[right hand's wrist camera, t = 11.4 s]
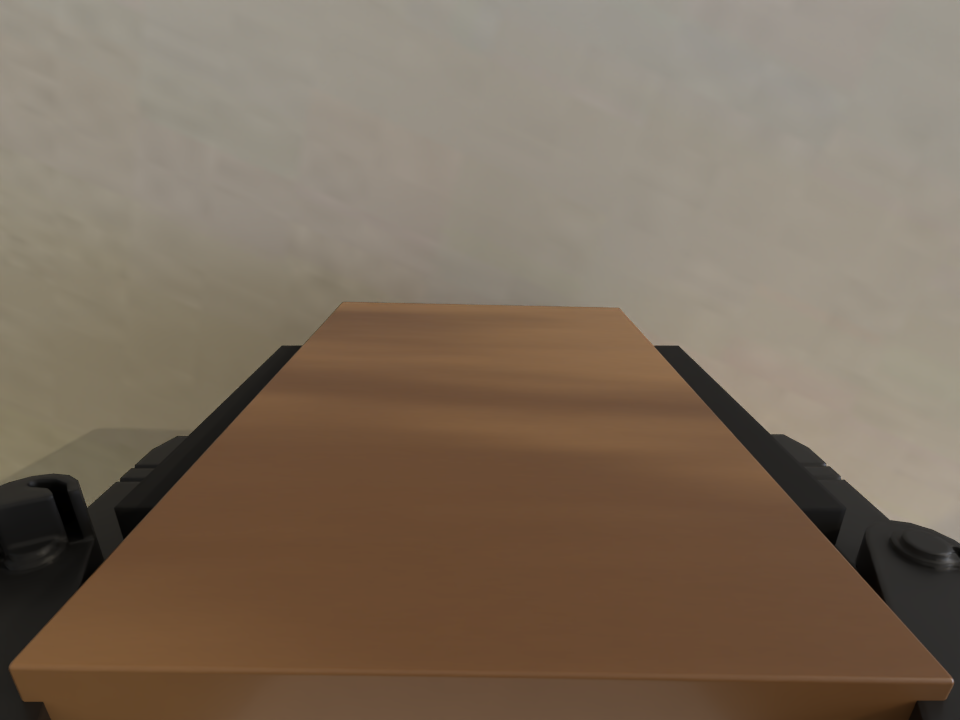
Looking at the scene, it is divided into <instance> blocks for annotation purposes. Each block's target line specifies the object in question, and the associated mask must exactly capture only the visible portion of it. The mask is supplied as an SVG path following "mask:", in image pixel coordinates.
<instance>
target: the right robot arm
mask: <svg viewBox="0 0 960 720" xmlns="http://www.w3.org/2000/svg"><path fill="white" fill-rule="evenodd" d="M301 347H302V346H281V347H280V348H279V349H278V350H277V351H276V352H275V353H274V354H273V355H272V356H271V357H270V358H269V359H268V360H267V361H266V362H265V363H264V364H263V365H261V366H260V367H259V368H258V369H257V370H256V371H255V372H254V373H253V374H252V375H251V376H250V377H249V378H248V379H247V380H246V381H245V382H244V383H243V384H242V385H241V386H240V387H239V388H238V389H237V390H236V391H235V392H233V393H232V394H231V395H230V396H229V397H228V398H227V399H226V400H225V401H224V402H223V403H222V404H221V405H220V406H219V407H218V408H217V409H216V410H215V411H214V412H213V413H212V414H211V415H210V416H209V417H208V418H206V419H205V420H204V421H203V422H202V423H201V424H200V425H199V426H198V427H197V428H196V429H195V430H194V431H193V432H192V433H191V434H190V435H189V436H177V437H175V438H173V439H171V440H169V441H167V442H166V443H164V444H162V445H160V446H158V447H156V448H154V449H152V450H151V451H150V452H149V453H148V454H147V455H146V456H145V457H143V458H142V459H141V460H140V461H139V462H138V463H137V464H136V465H135V468H131V469H130V470H129V471H128V472H127V473H126V474H125V475H123V476H122V477H121V478H120V482H116V483H115V484H113V485H112V486H111V487H110V488H109V489H108V490H107V491H106V492H105V493H103V494H102V495H101V496H100V497H99V498H98V499H97V500H96V501H95V502H93V503H92V504H91V505H90V506H89V507H88V508H87V506H86V503H85V500H84V497H83V494H82V491H81V488H80V485H79V482H78V480H76V479H75V478H73V477H71V476H70V475H62V474H46V475H38V476H31V477H27V478H24V479H20V480H16V481H12V482H9V483H6V484H4V485H1V486H0V720H51V718H50V716H49V714H48V712H47V709H46V707H45V705H44V702H24V701H22V700H21V698H20V695H19V693H18V691H17V688H16V686H15V684H14V681H13V679H12V677H11V674H10V672H9V670H8V669H9V665H10V663H11V662H12V661H13V660H14V658H15V657H16V656H17V655H18V654H19V653H20V652H21V651H22V650H23V649H24V648H25V647H26V645H27V644H28V643H29V642H30V641H31V640H32V639H33V638H34V637H35V636H36V635H37V634H38V632H39V631H40V630H41V629H42V628H43V627H44V626H45V625H46V624H47V623H48V622H49V620H50V619H51V618H52V617H53V616H54V615H55V614H56V613H57V612H58V611H59V610H60V609H61V607H62V606H63V605H64V604H65V603H66V602H67V601H68V600H69V599H70V598H71V597H72V596H73V594H74V593H75V592H76V591H77V590H78V589H79V588H80V587H81V586H82V585H83V584H84V582H85V581H86V580H87V579H88V578H89V577H90V576H91V575H92V574H93V573H94V572H95V571H96V569H97V568H98V567H99V566H100V565H101V564H102V563H103V562H104V561H105V560H106V559H107V557H108V556H109V555H110V554H111V553H112V552H113V551H114V550H115V549H116V548H117V547H118V546H119V544H120V543H121V542H122V541H123V540H124V539H125V538H126V537H127V536H128V535H129V534H130V533H131V531H132V530H133V529H134V528H135V527H136V526H137V525H138V524H139V523H140V522H141V521H142V519H143V518H144V517H145V516H146V515H147V514H148V513H149V512H150V511H151V510H152V509H153V508H154V506H155V505H156V504H157V503H158V502H159V501H160V500H161V499H162V498H163V497H164V496H165V495H166V493H167V492H168V491H169V490H170V489H171V488H172V487H173V486H174V485H175V484H176V483H177V481H178V480H179V479H180V478H181V477H182V476H183V475H184V474H185V473H186V472H187V471H188V470H189V468H190V467H191V466H192V465H193V464H194V463H195V462H196V461H197V460H198V459H199V458H200V456H201V455H202V454H203V453H204V452H205V451H206V450H207V449H208V448H209V447H210V446H211V445H212V443H213V442H214V441H215V440H216V439H217V438H218V437H219V436H220V435H221V434H222V433H223V432H224V430H225V429H226V428H227V427H228V426H229V425H230V424H231V423H232V422H233V421H234V420H235V418H236V417H237V416H238V415H239V414H240V413H241V412H242V411H243V410H244V409H245V408H246V407H247V405H248V404H249V403H250V402H251V401H252V400H253V399H254V398H255V397H256V396H257V395H258V394H259V392H260V391H261V390H262V389H263V388H264V387H265V386H266V385H267V384H268V383H269V382H270V380H271V379H272V378H273V377H274V376H275V375H276V374H277V373H278V372H279V371H280V370H281V369H282V367H283V366H284V365H285V364H286V363H287V362H288V361H289V360H290V359H291V358H292V357H293V356H294V354H295V353H296V352H297V351H298V350H299V349H300V348H301ZM654 347H655V348H656V349H657V350H658V352H659V353H660V354H661V355H662V356H663V357H664V358H665V359H666V360H667V361H668V363H669V364H670V365H671V366H672V367H673V368H674V369H675V370H676V371H677V373H678V374H679V375H680V376H681V377H682V378H683V379H684V380H685V381H686V383H687V384H688V385H689V386H690V387H691V388H692V389H693V390H694V391H695V393H696V394H697V395H698V396H699V397H700V398H701V399H702V400H703V401H704V403H705V404H706V405H707V406H708V407H709V408H710V409H711V410H712V411H713V413H714V414H715V415H716V416H717V417H718V418H719V419H720V420H721V421H722V422H723V424H724V425H725V426H726V427H727V428H728V429H729V430H730V431H731V432H732V434H733V435H734V436H735V437H736V438H737V439H738V440H739V441H740V442H741V444H742V445H743V446H744V447H745V448H746V449H747V450H748V451H749V452H750V454H751V455H752V456H753V457H754V458H755V459H756V460H757V461H758V462H759V464H760V465H761V466H762V467H763V468H764V469H765V470H766V471H767V472H768V474H769V475H770V476H771V477H772V478H773V479H774V480H775V481H776V482H777V483H778V485H779V486H780V487H781V488H782V489H783V490H784V491H785V492H786V493H787V495H788V496H789V497H790V498H791V499H792V500H793V501H794V502H795V503H796V505H797V506H798V507H799V508H800V509H801V510H802V511H803V512H804V513H805V515H806V516H807V517H808V518H809V519H810V520H811V521H812V522H813V523H814V525H815V526H816V527H817V528H818V529H819V530H820V531H821V532H822V533H823V535H824V536H825V537H826V538H827V539H828V540H829V541H830V542H831V543H832V544H833V546H834V547H835V548H836V549H837V550H838V551H839V552H840V553H841V554H842V556H843V557H844V558H845V559H846V560H847V561H848V562H849V563H850V564H851V566H852V567H853V568H854V569H855V570H856V571H857V572H858V573H859V574H860V576H861V577H862V578H863V579H864V580H865V581H866V582H867V583H868V584H869V586H870V587H871V588H872V589H873V590H874V591H875V592H876V593H877V594H878V595H879V597H880V598H881V599H882V600H883V601H884V602H885V603H886V604H887V605H888V607H889V608H890V609H891V610H892V611H893V612H894V613H895V614H896V615H897V617H898V618H899V619H900V620H901V621H902V622H903V623H904V624H905V625H906V627H907V628H908V629H909V630H910V631H911V632H912V633H913V634H914V635H915V637H916V638H917V639H918V640H919V641H920V642H921V643H922V644H923V645H924V647H925V648H926V649H927V650H928V651H929V652H930V653H931V654H932V655H933V656H934V658H935V659H936V660H937V661H938V662H939V663H940V664H941V665H942V666H943V668H944V669H945V670H946V671H947V672H948V673H949V674H950V675H951V676H952V678H953V680H954V685H953V687H952V689H951V691H950V693H949V695H948V697H947V699H946V700H944V701H917V702H916V704H915V706H914V709H913V711H912V713H911V715H910V718H909V720H960V544H959V543H958V542H956V541H955V540H953V539H951V538H949V537H947V536H945V535H942V534H940V533H938V532H936V531H934V530H932V529H928V528H925V527H922V526H919V525H915V524H912V523H907V522H900V521H892V520H889V519H888V518H887V517H886V516H885V515H883V514H882V513H881V512H880V511H879V510H878V509H877V508H876V507H874V506H873V505H872V504H871V503H870V502H869V501H868V500H867V499H866V498H864V497H863V496H862V495H861V494H860V493H859V492H858V491H857V490H855V489H854V488H853V487H852V486H851V485H850V484H849V483H848V482H846V481H845V480H841V476H840V475H839V474H837V473H836V472H835V471H834V470H833V469H832V468H831V467H830V466H826V463H825V462H824V461H823V460H822V459H821V458H820V457H818V456H817V455H816V454H815V453H814V452H813V451H812V450H811V449H809V448H808V447H806V446H804V445H802V444H801V443H799V442H797V441H795V440H793V439H791V438H789V437H787V436H785V435H784V434H769V433H768V432H767V431H766V430H765V429H764V428H763V427H762V426H761V425H760V424H759V423H758V422H757V421H756V420H755V419H754V418H753V417H752V416H751V415H750V414H749V413H748V412H747V411H746V410H745V409H744V408H742V407H741V406H740V405H739V404H738V403H737V402H736V401H735V400H734V399H733V398H732V397H731V396H730V395H729V394H728V393H727V392H726V391H725V390H724V389H723V388H722V387H721V386H720V385H719V384H718V383H717V382H715V381H714V380H713V379H712V378H711V377H710V376H709V375H708V374H707V373H706V372H705V371H704V370H703V369H702V368H701V367H700V366H699V365H698V364H697V363H696V362H695V361H694V360H693V359H692V358H691V357H690V356H688V355H687V354H686V353H685V352H684V351H683V350H682V349H681V348H680V347H679V346H654Z"/></svg>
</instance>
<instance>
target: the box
mask: <svg viewBox="0 0 960 720" xmlns="http://www.w3.org/2000/svg"><path fill="white" fill-rule="evenodd" d="M8 670H9V672H10V674H11V677H12V679H13V681H14V684H15V686H16V688H17V691H18V693H19V695H20V698H21V700H22V701H24V702H44V705H45V707H46V709H47V712H48V714H49V716H50V718H51V720H909V718H910V715H911V713H912V711H913V709H914V706H915V704H916V702H917V701H944V700H946V699H947V697H948V695H949V693H950V691H951V689H952V687H953V685H954V680H953V678H952V676H951V675H950V674H949V673H948V672H947V671H946V670H945V669H944V668H943V666H942V665H941V664H940V663H939V662H938V661H937V660H936V659H935V658H934V656H933V655H932V654H931V653H930V652H929V651H928V650H927V649H926V648H925V647H924V645H923V644H922V643H921V642H920V641H919V640H918V639H917V638H916V637H915V635H914V634H913V633H912V632H911V631H910V630H909V629H908V628H907V627H906V625H905V624H904V623H903V622H902V621H901V620H900V619H899V618H898V617H897V615H896V614H895V613H894V612H893V611H892V610H891V609H890V608H889V607H888V605H887V604H886V603H885V602H884V601H883V600H882V599H881V598H880V597H879V595H878V594H877V593H876V592H875V591H874V590H873V589H872V588H871V587H870V586H869V584H868V583H867V582H866V581H865V580H864V579H863V578H862V577H861V576H860V574H859V573H858V572H857V571H856V570H855V569H854V568H853V567H852V566H851V564H850V563H849V562H848V561H847V560H846V559H845V558H844V557H843V556H842V554H841V553H840V552H839V551H838V550H837V549H836V548H835V547H834V546H833V544H832V543H831V542H830V541H829V540H828V539H827V538H826V537H825V536H824V535H823V533H822V532H821V531H820V530H819V529H818V528H817V527H816V526H815V525H814V523H813V522H812V521H811V520H810V519H809V518H808V517H807V516H806V515H805V513H804V512H803V511H802V510H801V509H800V508H799V507H798V506H797V505H796V503H795V502H794V501H793V500H792V499H791V498H790V497H789V496H788V495H787V493H786V492H785V491H784V490H783V489H782V488H781V487H780V486H779V485H778V483H777V482H776V481H775V480H774V479H773V478H772V477H771V476H770V475H769V474H768V472H767V471H766V470H765V469H764V468H763V467H762V466H761V465H760V464H759V462H758V461H757V460H756V459H755V458H754V457H753V456H752V455H751V454H750V452H749V451H748V450H747V449H746V448H745V447H744V446H743V445H742V444H741V442H740V441H739V440H738V439H737V438H736V437H735V436H734V435H733V434H732V432H731V431H730V430H729V429H728V428H727V427H726V426H725V425H724V424H723V422H722V421H721V420H720V419H719V418H718V417H717V416H716V415H715V414H714V413H713V411H712V410H711V409H710V408H709V407H708V406H707V405H706V404H705V403H704V401H703V400H702V399H701V398H700V397H699V396H698V395H697V394H696V393H695V391H694V390H693V389H692V388H691V387H690V386H689V385H688V384H687V383H686V381H685V380H684V379H683V378H682V377H681V376H680V375H679V374H678V373H677V371H676V370H675V369H674V368H673V367H672V366H671V365H670V364H669V363H668V361H667V360H666V359H665V358H664V357H663V356H662V355H661V354H660V353H659V352H658V350H657V349H656V348H655V347H654V346H653V345H652V344H651V343H650V342H649V340H648V339H647V338H646V337H645V336H644V335H643V334H642V333H641V332H640V330H639V329H638V328H637V327H636V326H635V325H634V324H633V323H632V322H631V320H630V319H629V318H628V317H627V316H626V315H625V314H624V313H623V312H622V310H621V309H620V308H603V307H556V306H509V305H463V304H416V303H369V302H342V303H341V304H340V306H339V307H338V308H337V309H336V310H335V311H334V312H333V313H332V314H331V315H330V316H329V317H328V319H327V320H326V321H325V322H324V323H323V324H322V325H321V326H320V327H319V328H318V329H317V331H316V332H315V333H314V334H313V335H312V336H311V337H310V338H309V339H308V340H307V341H306V342H305V344H304V345H303V346H302V347H301V348H300V349H299V350H298V351H297V352H296V353H295V354H294V356H293V357H292V358H291V359H290V360H289V361H288V362H287V363H286V364H285V365H284V366H283V367H282V369H281V370H280V371H279V372H278V373H277V374H276V375H275V376H274V377H273V378H272V379H271V380H270V382H269V383H268V384H267V385H266V386H265V387H264V388H263V389H262V390H261V391H260V392H259V394H258V395H257V396H256V397H255V398H254V399H253V400H252V401H251V402H250V403H249V404H248V405H247V407H246V408H245V409H244V410H243V411H242V412H241V413H240V414H239V415H238V416H237V417H236V418H235V420H234V421H233V422H232V423H231V424H230V425H229V426H228V427H227V428H226V429H225V430H224V432H223V433H222V434H221V435H220V436H219V437H218V438H217V439H216V440H215V441H214V442H213V443H212V445H211V446H210V447H209V448H208V449H207V450H206V451H205V452H204V453H203V454H202V455H201V456H200V458H199V459H198V460H197V461H196V462H195V463H194V464H193V465H192V466H191V467H190V468H189V470H188V471H187V472H186V473H185V474H184V475H183V476H182V477H181V478H180V479H179V480H178V481H177V483H176V484H175V485H174V486H173V487H172V488H171V489H170V490H169V491H168V492H167V493H166V495H165V496H164V497H163V498H162V499H161V500H160V501H159V502H158V503H157V504H156V505H155V506H154V508H153V509H152V510H151V511H150V512H149V513H148V514H147V515H146V516H145V517H144V518H143V519H142V521H141V522H140V523H139V524H138V525H137V526H136V527H135V528H134V529H133V530H132V531H131V533H130V534H129V535H128V536H127V537H126V538H125V539H124V540H123V541H122V542H121V543H120V544H119V546H118V547H117V548H116V549H115V550H114V551H113V552H112V553H111V554H110V555H109V556H108V557H107V559H106V560H105V561H104V562H103V563H102V564H101V565H100V566H99V567H98V568H97V569H96V571H95V572H94V573H93V574H92V575H91V576H90V577H89V578H88V579H87V580H86V581H85V582H84V584H83V585H82V586H81V587H80V588H79V589H78V590H77V591H76V592H75V593H74V594H73V596H72V597H71V598H70V599H69V600H68V601H67V602H66V603H65V604H64V605H63V606H62V607H61V609H60V610H59V611H58V612H57V613H56V614H55V615H54V616H53V617H52V618H51V619H50V620H49V622H48V623H47V624H46V625H45V626H44V627H43V628H42V629H41V630H40V631H39V632H38V634H37V635H36V636H35V637H34V638H33V639H32V640H31V641H30V642H29V643H28V644H27V645H26V647H25V648H24V649H23V650H22V651H21V652H20V653H19V654H18V655H17V656H16V657H15V658H14V660H13V661H12V662H11V663H10V665H9V669H8Z"/></svg>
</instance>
